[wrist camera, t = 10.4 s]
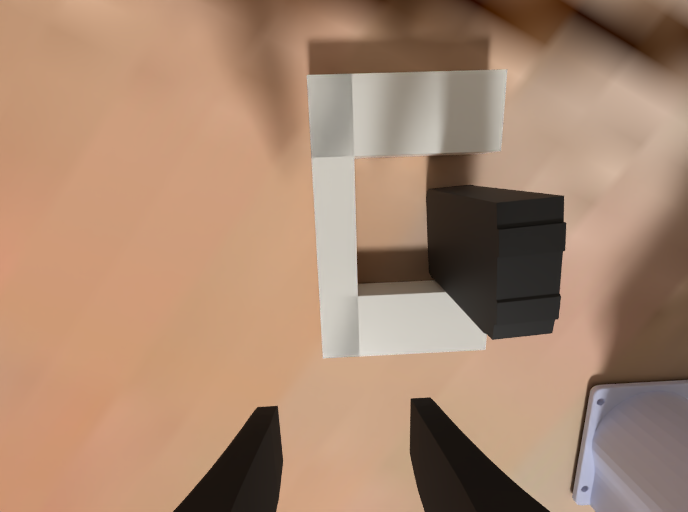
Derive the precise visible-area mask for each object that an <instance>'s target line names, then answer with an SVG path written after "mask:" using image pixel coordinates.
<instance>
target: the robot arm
mask: <svg viewBox="0 0 688 512" xmlns="http://www.w3.org/2000/svg"><path fill="white" fill-rule="evenodd" d="M598 399H599V400H598ZM410 456H411V461H412V466H413V470H414V475H415V479H416V484H417V488H418V492H419V495H420V498H421V501H422V504H423V507H424V510H425V512H550V511H549V510H547V509H546V508H545V507H544V506H542V505H541V504H540V503H539V502H537V501H536V500H535V499H534V498H532V497H531V496H530V495H529V494H528V493H526V492H525V491H524V490H523V489H522V488H520V487H519V486H518V485H517V484H516V483H515V482H514V481H512V480H511V479H510V478H509V477H508V476H507V475H506V474H505V473H504V472H503V471H501V470H500V469H499V468H498V467H497V466H496V465H495V464H494V463H493V462H492V461H491V460H490V459H489V458H488V457H487V456H486V455H485V454H484V453H483V452H482V451H481V450H480V449H479V448H478V447H477V446H476V445H475V444H474V443H473V442H472V441H471V440H470V439H469V438H468V437H467V436H466V435H465V434H464V433H463V432H462V431H461V430H460V429H459V428H458V427H457V426H456V425H455V424H454V423H453V422H452V420H451V419H450V418H449V417H448V416H447V415H446V414H445V413H444V412H443V411H442V409H441V408H440V407H439V406H438V405H437V404H436V403H435V402H434V401H433V400H432V399H431V398H413V399H411V416H410ZM282 466H283V455H282V445H281V435H280V425H279V415H278V406H270V407H257V409H256V410H255V411H254V412H253V413H252V415H251V416H250V418H249V419H248V420H247V422H246V423H245V425H244V426H243V427H242V429H241V430H240V431H239V433H238V434H237V435H236V437H235V438H234V440H233V441H232V442H231V444H230V445H229V446H228V447H227V449H226V450H225V451H224V452H223V454H222V455H221V456H220V458H219V459H218V460H217V461H216V463H215V464H214V465H213V466H212V468H211V469H210V470H209V471H208V473H207V474H206V475H205V476H204V477H203V478H202V480H201V481H200V482H199V483H198V484H197V485H196V486H195V488H194V489H193V490H192V491H191V492H190V493H189V495H188V496H187V497H186V498H185V499H184V500H183V501H182V503H181V504H180V505H179V506H178V507H177V508H176V509H175V510H174V511H173V512H276V509H277V504H278V500H279V492H280V484H281V475H282ZM572 498H573V500H574V501H575V502H576V504H578V505H591V507H592V508H593V509H594V510H595V512H688V380H677V381H659V382H641V383H622V384H604V385H596V386H594V387H592V389H591V391H590V395H589V401H588V407H587V413H586V418H585V424H584V430H583V436H582V442H581V448H580V454H579V460H578V465H577V471H576V477H575V483H574V489H573V495H572Z"/></svg>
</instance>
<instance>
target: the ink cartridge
mask: <svg viewBox="0 0 688 512" xmlns="http://www.w3.org/2000/svg"><path fill="white" fill-rule="evenodd" d="M426 205H427V235H428V262H429V273H430V275H431V277H432V278H434V280H435V281H436V282H437V283H438V284H439V285H440V286H441V287H442V288H443V289H444V290H445V292H446V293H447V294H448V295H449V296H450V297H451V298H452V299H453V300H454V301H455V302H456V304H457V305H458V306H459V307H460V308H461V309H462V310H463V311H464V312H465V313H466V314H467V316H468V317H469V318H470V319H471V320H472V321H473V322H474V323H475V324H476V325H477V326H478V328H479V329H480V330H481V331H482V332H483V333H485V334H487V335H488V336H489V337H490V338H491V339H492V340H494V339H503V338H512V337H521V336H531V335H540V334H549V333H552V332H553V326H554V321H555V319H558V318H559V309H560V300H561V296H560V294H559V291H560V279H561V267H562V255H563V251H565V240H566V223H565V222H564V196H560V195H551V194H543V193H534V192H525V191H516V190H507V189H498V188H489V187H481V186H473V185H464V186H454V187H444V188H435V189H428V191H427V196H426Z"/></svg>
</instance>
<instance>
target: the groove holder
mask: <svg viewBox="0 0 688 512" xmlns="http://www.w3.org/2000/svg"><path fill="white" fill-rule="evenodd" d="M506 80H507V69H503V70H467V71H431V72H395V73H359V74H323V75H307V88H308V105H309V123H310V140H311V158H312V175H313V193H314V210H315V228H316V245H317V263H318V280H319V298H320V315H321V333H322V350H323V358H337V357H356V356H375V355H395V354H414V353H433V352H453V351H472V350H486V337H487V334H485V333H483V332H482V331H481V330H480V329H479V328H478V326H477V325H476V324H475V323H474V322H473V321H472V320H471V319H470V318H469V317H468V316H467V314H466V313H465V312H464V311H463V310H462V309H461V308H460V307H459V306H458V305H457V304H456V302H455V301H454V300H453V299H452V298H451V297H450V296H449V295H448V294H447V293H446V292H445V290H444V289H443V288H442V287H441V286H440V285H439V284H438V283H437V282H436V281H435V280H430V281H408V282H386V283H364V284H358V282H357V245H356V207H355V170H354V158H382V157H411V156H440V155H468V154H485V153H492V152H498V151H501V145H502V132H503V119H504V106H505V93H506Z"/></svg>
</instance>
